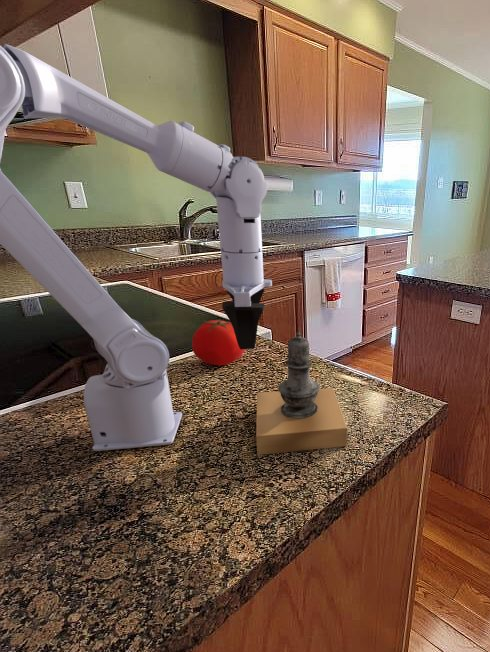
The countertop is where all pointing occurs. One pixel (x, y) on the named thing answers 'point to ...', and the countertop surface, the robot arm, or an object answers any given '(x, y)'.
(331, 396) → the block
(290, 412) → the grey chess piece
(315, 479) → the countertop surface
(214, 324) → the tomato
